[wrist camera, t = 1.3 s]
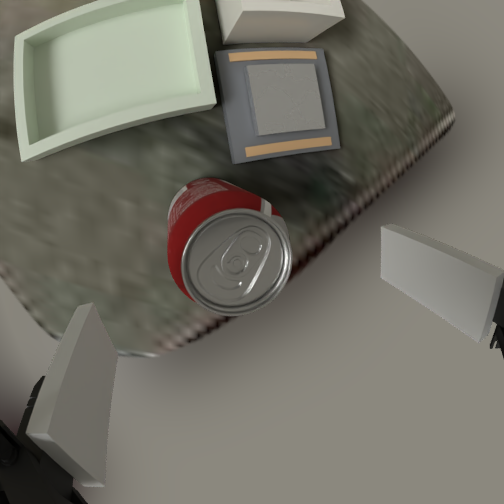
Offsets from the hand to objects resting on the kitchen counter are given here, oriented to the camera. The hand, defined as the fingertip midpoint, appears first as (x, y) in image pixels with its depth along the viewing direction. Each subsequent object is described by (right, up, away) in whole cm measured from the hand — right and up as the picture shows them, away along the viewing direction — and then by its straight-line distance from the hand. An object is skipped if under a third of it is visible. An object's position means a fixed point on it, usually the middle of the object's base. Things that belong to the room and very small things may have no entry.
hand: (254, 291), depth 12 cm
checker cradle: (+2, +15, +11) cm, 19 cm away
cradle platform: (+3, +14, +10) cm, 18 cm away
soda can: (-4, +5, +13) cm, 15 cm away
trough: (-12, +17, +6) cm, 22 cm away
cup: (+1, +24, +8) cm, 25 cm away
